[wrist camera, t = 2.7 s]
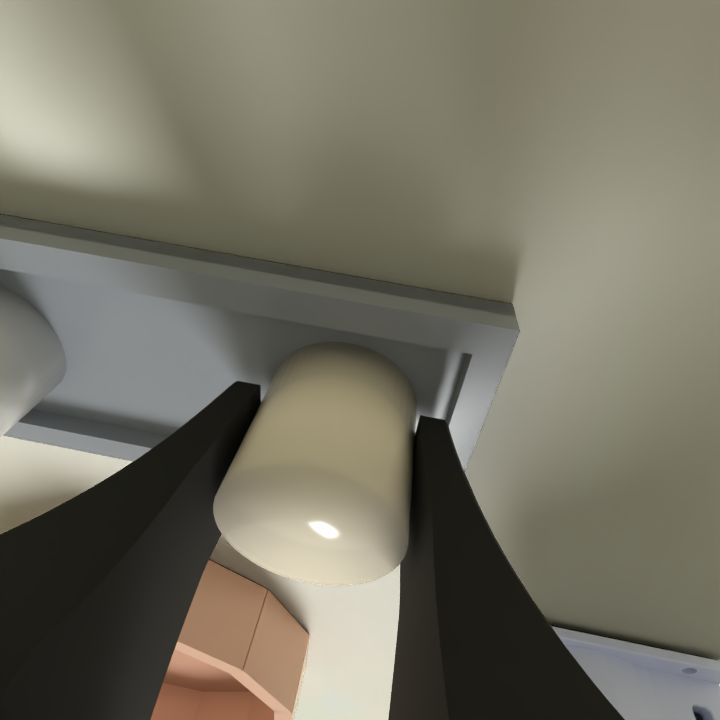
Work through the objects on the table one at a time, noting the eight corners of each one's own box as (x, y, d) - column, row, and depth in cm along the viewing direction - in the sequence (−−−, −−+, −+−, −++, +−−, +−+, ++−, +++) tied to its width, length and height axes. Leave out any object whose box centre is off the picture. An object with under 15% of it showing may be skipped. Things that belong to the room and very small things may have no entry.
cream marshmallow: (430, 357, 11) (427, 488, 8) (402, 465, 13) (390, 600, 10) (272, 328, 11) (205, 445, 8) (271, 440, 14) (219, 564, 10)
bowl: (316, 574, 19) (297, 659, 16) (300, 705, 28) (286, 773, 26) (-37, 501, 20) (-109, 572, 17) (60, 652, 29) (23, 713, 26)
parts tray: (512, 304, 11) (520, 330, 10) (444, 491, 15) (444, 523, 14) (-170, 184, 11) (-225, 198, 10) (-53, 394, 16) (-87, 417, 15)
